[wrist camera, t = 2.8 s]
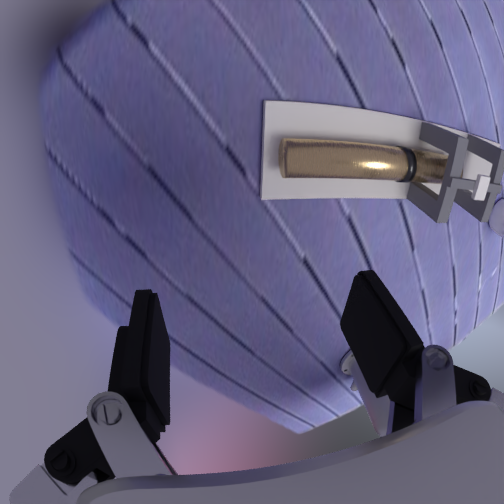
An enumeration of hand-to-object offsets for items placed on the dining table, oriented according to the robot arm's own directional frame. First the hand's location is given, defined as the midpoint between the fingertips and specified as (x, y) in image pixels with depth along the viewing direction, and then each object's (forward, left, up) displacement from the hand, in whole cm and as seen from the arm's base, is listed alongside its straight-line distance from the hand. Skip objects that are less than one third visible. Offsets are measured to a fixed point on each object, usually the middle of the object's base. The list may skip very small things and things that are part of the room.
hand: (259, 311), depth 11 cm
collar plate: (0, -25, -23) cm, 33 cm away
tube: (0, -18, -22) cm, 28 cm away
